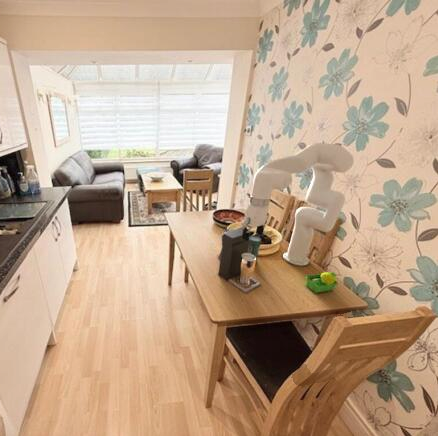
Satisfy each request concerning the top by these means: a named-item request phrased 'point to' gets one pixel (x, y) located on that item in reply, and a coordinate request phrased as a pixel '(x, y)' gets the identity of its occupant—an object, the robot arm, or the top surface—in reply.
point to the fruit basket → (321, 282)
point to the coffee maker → (233, 257)
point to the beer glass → (246, 268)
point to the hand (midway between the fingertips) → (252, 236)
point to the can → (254, 246)
